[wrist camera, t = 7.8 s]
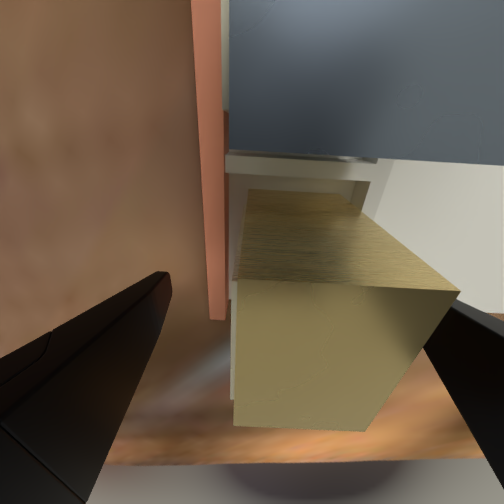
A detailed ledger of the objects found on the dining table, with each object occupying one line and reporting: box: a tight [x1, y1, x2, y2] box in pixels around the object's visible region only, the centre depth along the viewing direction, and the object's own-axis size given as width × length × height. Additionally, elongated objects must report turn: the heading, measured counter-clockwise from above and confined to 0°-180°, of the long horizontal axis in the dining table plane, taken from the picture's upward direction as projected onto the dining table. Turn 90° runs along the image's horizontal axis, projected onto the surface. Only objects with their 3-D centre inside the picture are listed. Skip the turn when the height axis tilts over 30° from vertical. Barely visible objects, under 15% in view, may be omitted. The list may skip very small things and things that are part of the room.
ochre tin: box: [230, 189, 461, 432], centre depth 8 cm, size 4×6×6 cm
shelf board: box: [191, 0, 504, 320], centre depth 9 cm, size 17×15×3 cm
